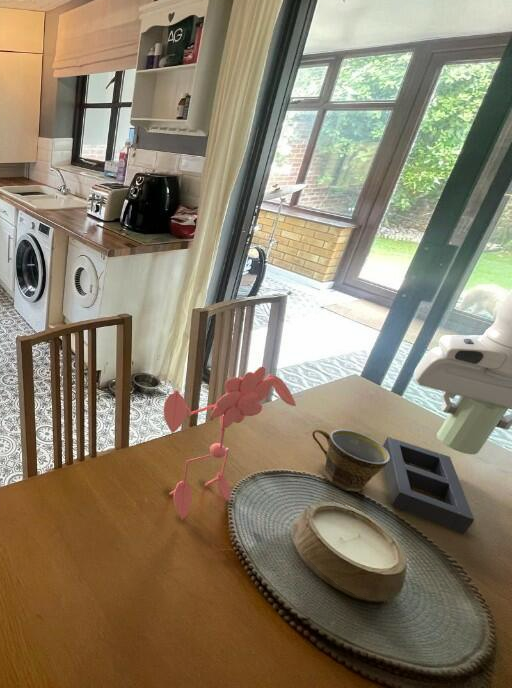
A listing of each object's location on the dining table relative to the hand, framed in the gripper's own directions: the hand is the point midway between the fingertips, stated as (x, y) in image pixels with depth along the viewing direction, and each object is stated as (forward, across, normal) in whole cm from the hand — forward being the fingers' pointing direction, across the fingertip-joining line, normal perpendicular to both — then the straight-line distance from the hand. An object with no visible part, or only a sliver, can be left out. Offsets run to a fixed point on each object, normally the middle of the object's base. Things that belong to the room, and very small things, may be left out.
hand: (472, 418), depth 78 cm
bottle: (+6, 0, 0) cm, 6 cm away
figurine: (+22, +36, +31) cm, 52 cm away
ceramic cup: (+22, +15, +3) cm, 27 cm away
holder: (+22, 0, -4) cm, 22 cm away
